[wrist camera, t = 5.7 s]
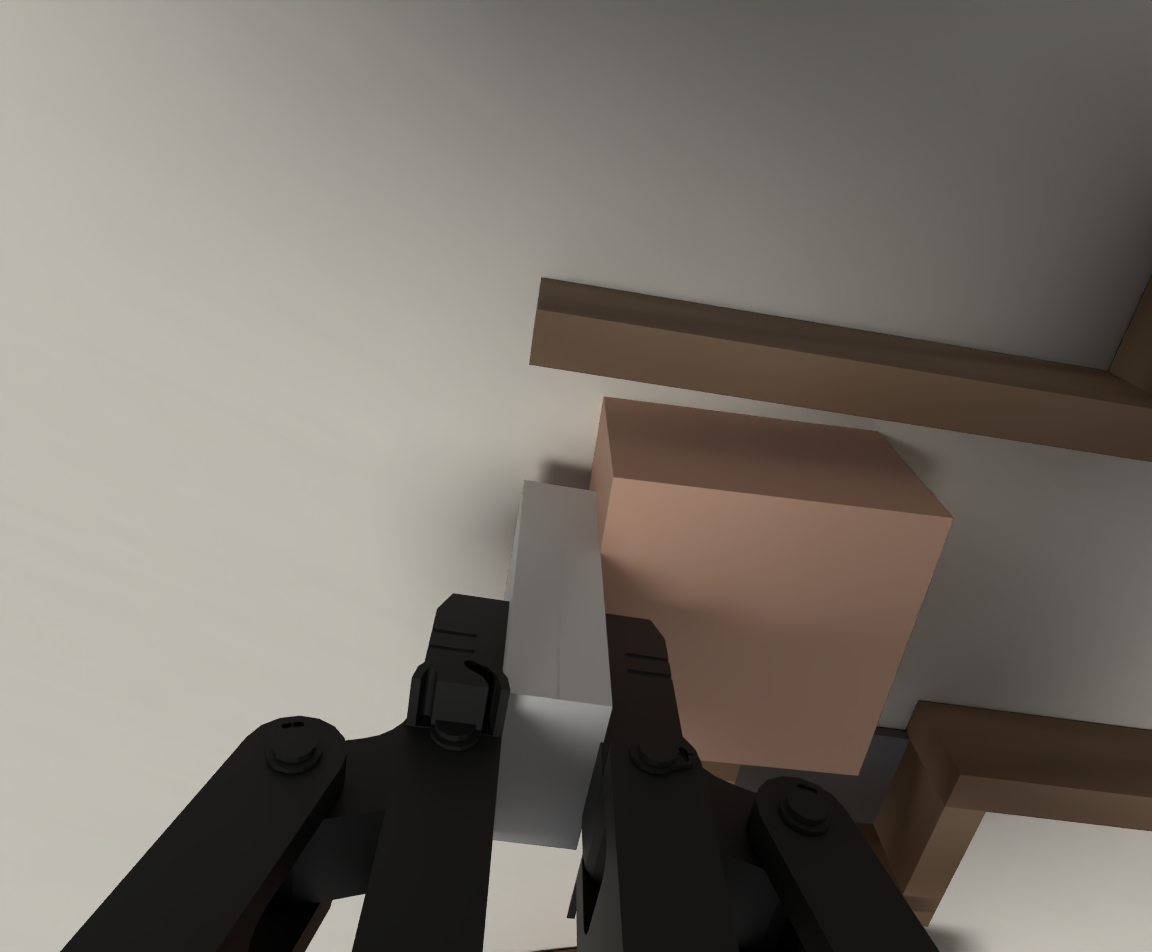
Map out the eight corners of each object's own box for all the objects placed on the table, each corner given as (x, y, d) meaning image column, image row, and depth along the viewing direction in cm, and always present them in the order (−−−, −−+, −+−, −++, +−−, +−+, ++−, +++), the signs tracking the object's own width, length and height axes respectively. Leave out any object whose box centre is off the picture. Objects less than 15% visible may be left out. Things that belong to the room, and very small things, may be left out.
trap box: (574, 54, 15) (577, 48, 11) (1880, 299, 17) (2230, 358, 14) (463, 795, 23) (444, 933, 19) (1381, 901, 25) (1520, 1041, 21)
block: (603, 396, 18) (613, 477, 14) (877, 430, 18) (954, 518, 15) (566, 628, 20) (566, 747, 17) (807, 654, 21) (858, 775, 17)
